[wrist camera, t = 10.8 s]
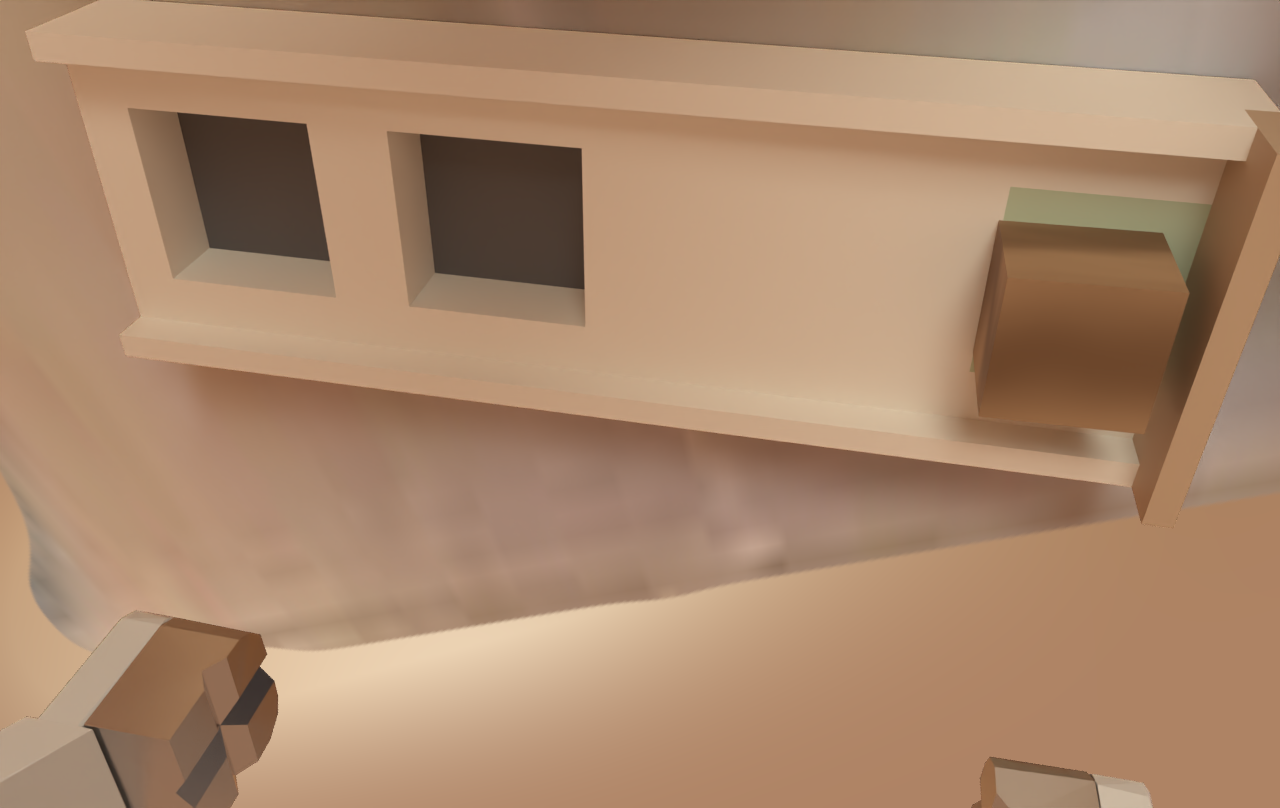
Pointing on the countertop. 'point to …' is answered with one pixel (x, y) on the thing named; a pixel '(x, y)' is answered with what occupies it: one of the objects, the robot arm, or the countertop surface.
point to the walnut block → (1076, 325)
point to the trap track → (657, 221)
